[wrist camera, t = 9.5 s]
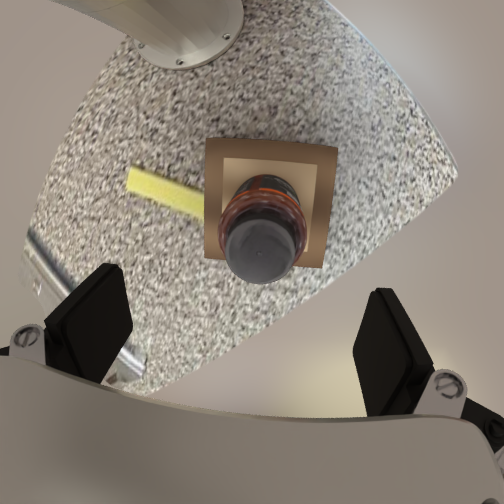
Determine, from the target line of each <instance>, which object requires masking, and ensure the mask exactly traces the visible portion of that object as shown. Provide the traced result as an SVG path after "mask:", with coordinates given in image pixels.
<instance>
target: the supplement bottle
mask: <svg viewBox="0 0 504 504" xmlns="http://www.w3.org/2000/svg"><path fill="white" fill-rule="evenodd" d="M218 242H219V246H220V249H221V251H222V253H223V255H224V256H225V258H226V261H227V263H228V266H229V267H230V269H231V270H232V271H233V272H234V274H235V275H237V276H238V277H239V278H241V279H242V280H244V281H246V282H249V283H254V284H268V283H272V282H275V281H277V280H279V279H281V278H282V277H283V276H285V275H286V274H287V273H288V271H289V270H290V268H291V267H292V266H293V265H294V264H295V263H296V262H297V261H298V260H299V258H300V257H301V256H302V254H303V252H304V249H305V246H306V243H307V226H306V221H305V218H304V214H303V211H302V208H301V205H300V202H299V199H298V196H297V194H296V192H295V190H294V189H293V187H292V186H291V185H290V184H289V183H288V182H287V181H286V180H284V179H282V178H281V177H278V176H276V175H271V174H261V175H257V176H253V177H251V178H249V179H248V180H246V181H245V182H244V183H243V184H242V185H241V186H240V187H239V188H238V190H237V191H236V193H235V194H234V196H233V197H232V199H231V200H230V202H229V203H228V205H227V206H226V208H225V210H224V211H223V213H222V215H221V218H220V221H219V225H218Z"/></svg>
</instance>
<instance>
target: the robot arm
mask: <svg viewBox="0 0 504 504" xmlns="http://www.w3.org/2000/svg"><path fill="white" fill-rule="evenodd" d="M50 1H53V2H56V3H59V4H62V5H64V6H67V7H69V8H72V9H74V10H76V11H79V12H81V13H83V14H85V15H88V16H90V17H92V18H94V19H96V20H99V21H101V22H103V23H105V24H107V25H109V26H111V27H113V28H115V29H117V30H119V31H121V32H123V33H125V34H127V35H129V36H130V37H132V38H133V41H134V45H135V47H136V50H137V52H138V53H139V54H140V55H141V57H142V58H143V59H145V60H146V61H147V62H149V63H151V64H153V65H155V66H157V67H160V68H163V69H168V70H187V69H192V68H196V67H199V66H202V65H205V64H207V63H209V62H211V61H213V60H214V59H216V58H218V57H219V56H220V55H222V54H223V53H224V52H226V51H227V50H228V49H229V47H230V46H231V45H232V44H233V43H234V42H235V40H236V39H237V37H238V36H239V34H240V32H241V29H242V27H243V22H244V8H243V4H242V1H241V0H50ZM227 37H230V39H229V40H226V38H227ZM144 46H145V47H144ZM143 47H144V48H143ZM181 62H183V64H182V65H180V64H181ZM44 322H45V325H46V328H45V329H44V330H43V328H42V327H41V326H39V325H37V324H28V325H25V326H22V327H20V328H19V329H17V330H16V331H15V332H14V333H13V335H12V336H11V340H10V346H8V347H4V348H1V349H0V504H504V418H503V417H501V416H500V415H498V414H496V413H495V412H492V411H491V410H489V409H487V408H485V407H483V406H482V405H480V404H478V403H476V402H474V401H472V400H471V399H469V398H467V397H466V395H467V386H466V383H465V381H464V380H463V378H462V377H461V376H460V375H459V374H457V373H455V372H453V371H451V370H448V369H440V370H437V371H435V369H434V367H433V361H432V359H431V357H430V355H429V354H428V351H427V350H426V348H425V346H424V344H423V342H422V340H421V338H420V336H419V335H418V333H417V331H416V329H415V327H414V325H413V324H412V322H411V320H410V318H409V317H408V315H407V313H406V311H405V309H404V308H403V306H402V304H401V303H400V301H399V299H398V298H397V296H396V294H395V293H394V291H393V289H391V288H376V290H375V291H372V292H371V293H370V296H369V299H368V303H367V306H366V310H365V313H364V316H363V319H362V322H361V325H360V329H359V331H358V334H357V337H356V340H355V343H354V346H353V357H354V361H355V365H356V369H357V373H358V378H359V382H360V386H361V390H362V394H363V399H364V403H365V408H366V412H367V417H353V418H294V417H275V416H261V415H250V414H240V413H232V412H224V411H217V410H209V409H204V408H197V407H192V406H186V405H180V404H175V403H171V402H166V401H161V400H157V399H153V398H148V397H144V396H140V395H136V394H132V393H129V392H125V391H121V390H118V389H114V388H111V387H108V386H104V385H101V384H100V383H101V382H102V380H103V378H104V377H105V375H106V373H107V372H108V370H109V368H110V367H111V365H112V363H113V362H114V360H115V358H116V357H117V355H118V353H119V352H120V350H121V348H122V347H123V345H124V344H125V342H126V340H127V339H128V337H129V336H130V334H131V332H132V330H133V322H132V318H131V313H130V308H129V303H128V298H127V293H126V288H125V282H124V276H123V271H122V269H121V268H119V266H118V265H117V264H110V263H103V264H101V265H100V266H99V267H98V268H97V269H96V270H95V271H94V272H93V273H92V274H91V275H90V276H88V277H87V278H86V279H85V280H84V281H83V282H82V283H81V284H80V285H79V286H78V287H77V288H76V289H75V290H74V291H73V292H72V293H71V294H70V295H69V296H68V297H67V298H66V299H65V300H64V301H63V302H62V303H61V304H60V305H59V306H58V307H57V308H56V309H55V310H54V311H53V312H52V313H51V314H50V315H49V316H48V317H47V318H46V319H45V320H44Z"/></svg>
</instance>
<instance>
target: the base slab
mask: <svg viewBox="0 0 504 504" xmlns="http://www.w3.org/2000/svg"><path fill="white" fill-rule="evenodd" d="M337 155H338V148H336V147H332V146H324V145H316V144H308V143H298V142H287V141H275V140H261V139H243V138H206V150H205V194H204V257H205V258H209V259H220V260H226V258H225V256H224V255H223V253H222V251H221V249H220V246H219V242H218V225H219V221H220V218H221V215H222V213H223V211H224V210H225V208H226V206H227V205H228V203H229V202H230V200H231V199H232V197H233V196H234V194H235V193H236V191H237V190H238V188H239V187H240V186H241V185H242V184H243V183H244V182H245V181H246V180H248V179H249V178H251V177H253V176H257V175H261V174H271V175H276V176H278V177H281V178H282V179H284V180H286V181H287V182H288V183H289V184H290V185H291V186H292V187H293V189H294V190H295V192H296V194H297V196H298V199H299V202H300V205H301V208H302V211H303V214H304V218H305V221H306V226H307V243H306V246H305V249H304V252H303V254H302V256H301V257H300V258H299V260H298V261H297V262H296V263H295V264H294V265H293V266H298V267H310V268H322V266H323V260H324V254H325V248H326V241H327V235H328V228H329V221H330V214H331V207H332V199H333V191H334V183H335V174H336V165H337Z"/></svg>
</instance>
